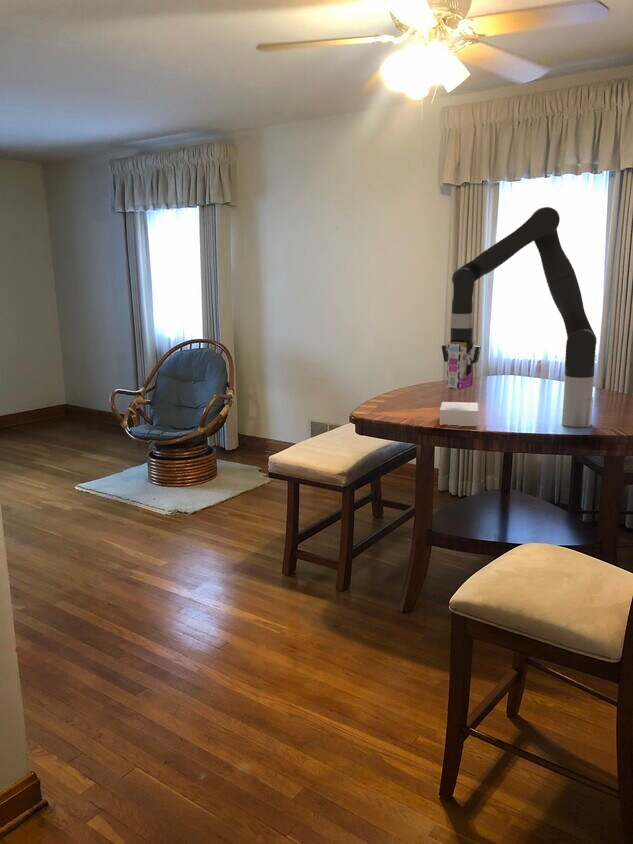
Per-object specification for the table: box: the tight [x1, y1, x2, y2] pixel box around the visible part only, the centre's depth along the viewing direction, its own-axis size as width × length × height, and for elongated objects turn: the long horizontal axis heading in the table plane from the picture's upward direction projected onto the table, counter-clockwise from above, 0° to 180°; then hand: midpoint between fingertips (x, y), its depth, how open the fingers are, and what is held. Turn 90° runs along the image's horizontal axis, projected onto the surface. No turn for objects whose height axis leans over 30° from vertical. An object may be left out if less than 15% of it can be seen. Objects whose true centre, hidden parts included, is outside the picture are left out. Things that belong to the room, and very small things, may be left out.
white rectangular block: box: [439, 401, 479, 427], centre depth 236 cm, size 13×15×6 cm
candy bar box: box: [446, 340, 475, 391], centre depth 232 cm, size 11×5×16 cm, turn 141°
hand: (460, 374), depth 233 cm, fingers closed on candy bar box, 5 cm apart
